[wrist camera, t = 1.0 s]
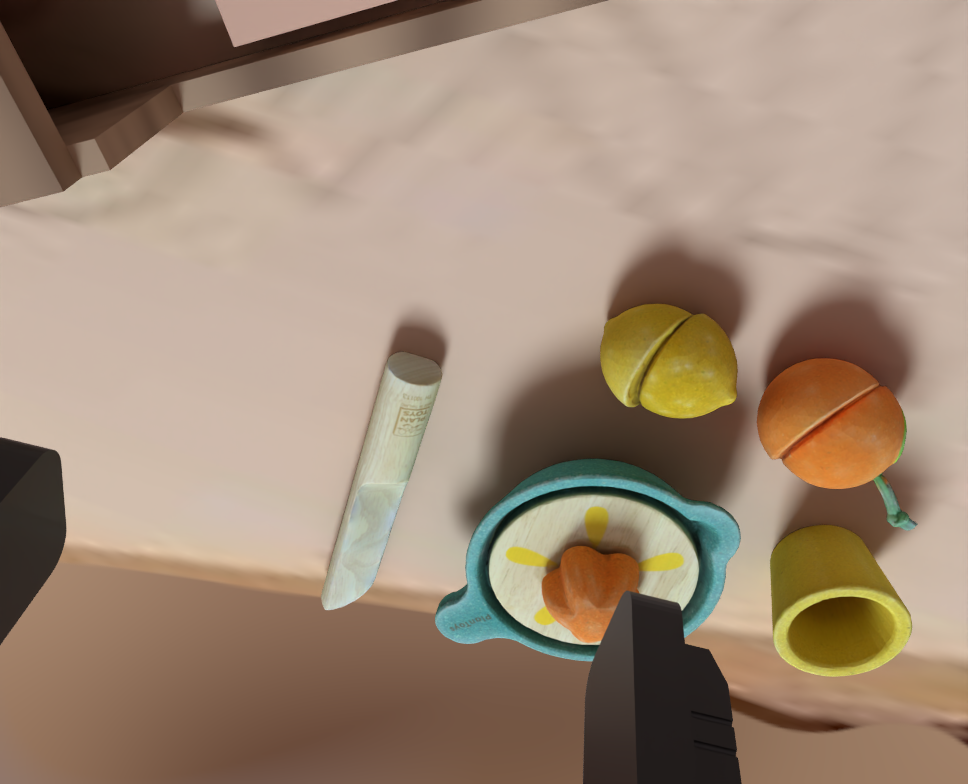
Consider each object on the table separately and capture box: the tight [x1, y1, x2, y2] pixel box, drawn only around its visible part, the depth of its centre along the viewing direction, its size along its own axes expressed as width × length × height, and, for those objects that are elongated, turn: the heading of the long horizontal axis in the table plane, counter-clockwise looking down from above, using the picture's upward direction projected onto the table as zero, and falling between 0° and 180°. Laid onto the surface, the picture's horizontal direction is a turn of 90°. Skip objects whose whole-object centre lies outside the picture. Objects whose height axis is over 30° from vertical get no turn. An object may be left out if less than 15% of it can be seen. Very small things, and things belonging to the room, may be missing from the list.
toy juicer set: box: [321, 304, 918, 676], centre depth 39 cm, size 29×18×8 cm, turn 94°
